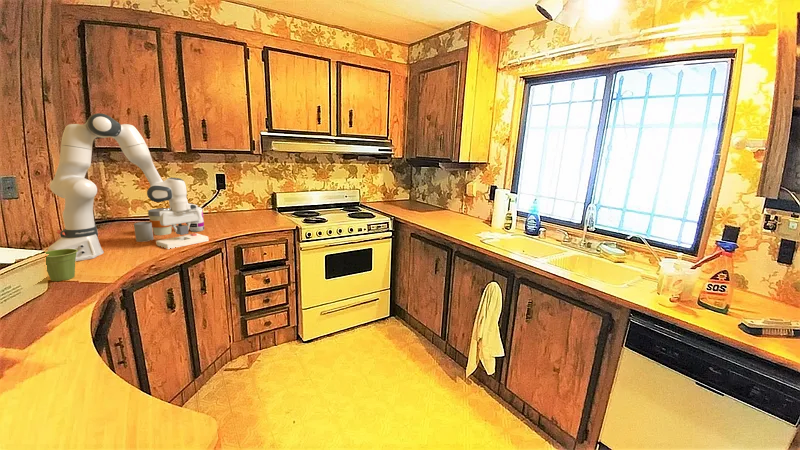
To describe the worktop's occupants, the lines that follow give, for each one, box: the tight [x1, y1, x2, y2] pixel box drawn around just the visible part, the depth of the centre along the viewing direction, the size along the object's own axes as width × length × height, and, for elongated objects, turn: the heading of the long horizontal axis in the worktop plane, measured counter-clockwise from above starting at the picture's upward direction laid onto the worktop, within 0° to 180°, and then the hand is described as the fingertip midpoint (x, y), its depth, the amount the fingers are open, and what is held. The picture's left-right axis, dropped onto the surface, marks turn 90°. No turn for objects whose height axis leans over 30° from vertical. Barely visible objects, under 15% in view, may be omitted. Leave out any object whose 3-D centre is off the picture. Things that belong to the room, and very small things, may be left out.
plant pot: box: [44, 249, 78, 282], centre depth 146 cm, size 12×12×11 cm
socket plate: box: [155, 232, 210, 250], centre depth 202 cm, size 22×13×3 cm, turn 146°
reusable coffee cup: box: [147, 207, 173, 236], centre depth 220 cm, size 12×12×15 cm
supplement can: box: [189, 206, 205, 233], centre depth 230 cm, size 8×8×15 cm
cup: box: [133, 221, 155, 243], centre depth 206 cm, size 8×8×10 cm
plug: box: [175, 223, 190, 236], centre depth 201 cm, size 4×6×6 cm
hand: (182, 230), depth 201 cm, fingers closed on plug, 4 cm apart
